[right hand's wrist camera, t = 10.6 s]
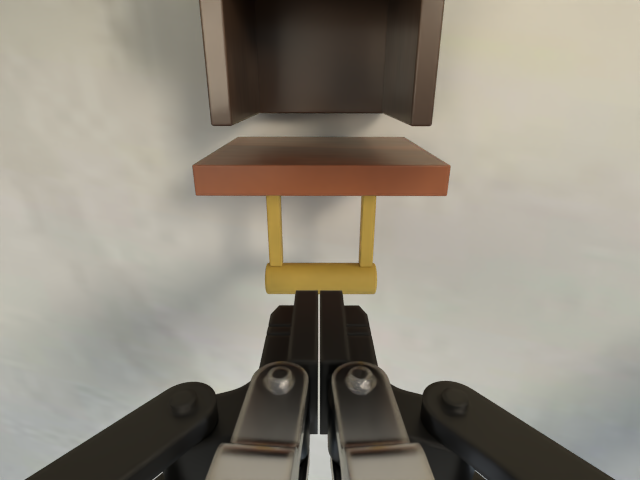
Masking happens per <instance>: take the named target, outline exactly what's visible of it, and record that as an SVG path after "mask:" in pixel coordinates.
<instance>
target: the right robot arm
mask: <svg viewBox="0 0 640 480" xmlns="http://www.w3.org/2000/svg"><path fill="white" fill-rule="evenodd" d="M310 434H318V290H296V293H295V302H294V305H279V306H278V307H277V308H276V310H275V311H274V312H273V313H272V314H271V316H270V321H269V327H268V330H267V336H266V339H265V344H264V349H263V353H262V358H261V362H260V367H259V369H258V370H257V371H256V372H255V373H254V375H253V377H252V379H251V381H250V382H249V383H247V384H246V385H244V386H242V387H240V388H238V389H235V390H232V391H228V392H224V393H220V394H215V392H214V390H213V389H212V388H211V387H210V386H208V385H207V384H204V383H200V382H186V383H182V384H178V385H176V386H173V387H171V388H169V389H168V390H166V391H164V392H163V393H161V394H160V395H158V396H156V397H155V398H153V399H152V400H150V401H148V402H147V403H145V404H144V405H142V406H141V407H139V408H137V409H136V410H134V411H133V412H131V413H130V414H128V415H126V416H125V417H123V418H122V419H120V420H118V421H117V422H115V423H114V424H112V425H111V426H109V427H107V428H106V429H104V430H103V431H101V432H99V433H98V434H96V435H95V436H93V437H92V438H90V439H88V440H87V441H85V442H84V443H82V444H81V445H79V446H77V447H76V448H74V449H73V450H71V451H69V452H68V453H66V454H65V455H63V456H62V457H60V458H58V459H57V460H55V461H54V462H52V463H51V464H49V465H47V466H46V467H44V468H43V469H41V470H39V471H38V472H36V473H35V474H33V475H32V476H30V477H28V478H27V479H25V480H153V479H154V478H155V477H156V476H158V475H159V474H160V473H161V472H163V473H162V474H161V475H159V476H158V477H157V478H156V479H154V480H308V473H309V462H310V458H309V442H310ZM320 434H328V451H329V454H330V456H331V458H330V462H331V473H332V480H486V479H487V480H615V479H613V478H612V477H610V476H608V475H607V474H605V473H604V472H602V471H601V470H599V469H597V468H596V467H594V466H593V465H591V464H589V463H588V462H586V461H585V460H583V459H582V458H580V457H578V456H577V455H575V454H574V453H572V452H571V451H569V450H567V449H566V448H564V447H563V446H561V445H559V444H558V443H556V442H555V441H553V440H552V439H550V438H548V437H547V436H545V435H544V434H542V433H540V432H539V431H537V430H536V429H534V428H533V427H531V426H529V425H528V424H526V423H525V422H523V421H522V420H520V419H518V418H517V417H515V416H514V415H512V414H510V413H509V412H507V411H506V410H504V409H503V408H501V407H499V406H498V405H496V404H495V403H493V402H492V401H490V400H488V399H487V398H485V397H484V396H482V395H480V394H479V393H477V392H476V391H474V390H473V389H471V388H469V387H467V386H465V385H463V384H460V383H457V382H452V381H439V382H435V383H432V384H430V385H429V386H428V387H426V389H425V390H424V392H423V395H421V394H417V393H413V392H409V391H405V390H402V389H399V388H397V387H395V386H393V385H391V384H390V382H389V379H388V377H387V375H386V373H385V372H384V371H383V370H382V369H381V368H379V367H378V365H377V360H376V355H375V350H374V345H373V340H372V336H371V331H370V327H369V321H368V316H367V314H366V313H365V312H364V311H363V310H362V309H361V307H360V306H344V302H343V293H342V290H320ZM475 470H476V471H477V472H479V473H480V474H481V475H482V476H484V477H485V478H486V479H484V478H483V477H482V476H481V475H479V474H478V473H477V472H476V471H475Z"/></svg>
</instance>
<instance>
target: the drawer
mask: <svg viewBox="0 0 640 480" xmlns="http://www.w3.org/2000/svg"><path fill="white" fill-rule="evenodd" d="M444 1H445V0H199V4H200V15H201V25H202V35H203V45H204V55H205V65H206V76H207V86H208V96H209V106H210V116H211V124H212V125H213V126H232V125H234V124H236V123H238V122H241V121H243V120H245V119H247V118H250V117H252V116H254V115H256V114H258V113H384V114H386V115H388V116H390V117H393V118H395V119H397V120H400V121H402V122H404V123H406V124H409V125H411V126H431V124H432V117H433V107H434V98H435V88H436V78H437V69H438V59H439V49H440V40H441V30H442V20H443V11H444ZM192 167H193V175H194V184H195V192H196V195H197V196H266V202H267V221H268V241H269V260H270V263H268V264H267V266H266V271H265V288H266V292H267V293H268V294H295V293H296V290H318V294H320V290H342V293H343V294H375V292H376V288H377V271H376V266H375V264H374V263H373V245H374V227H375V210H376V196H447V190H448V182H449V174H450V165H448V164H447V163H445V162H444V161H442V160H440V159H439V158H437V157H435V156H434V155H432V154H431V153H429V152H427V151H426V150H424V149H422V148H421V147H419V146H418V145H416V144H414V143H413V142H411V141H409V140H408V139H406V138H405V137H237V138H236V139H234V140H232V141H231V142H229V143H228V144H226V145H224V146H223V147H221V148H219V149H218V150H216V151H215V152H213V153H211V154H210V155H208V156H207V157H205V158H203V159H202V160H200V161H199V162H197V163H195V164H194V165H193V166H192ZM281 196H362V197H361V221H360V245H359V263H283V244H282V217H281Z"/></svg>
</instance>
